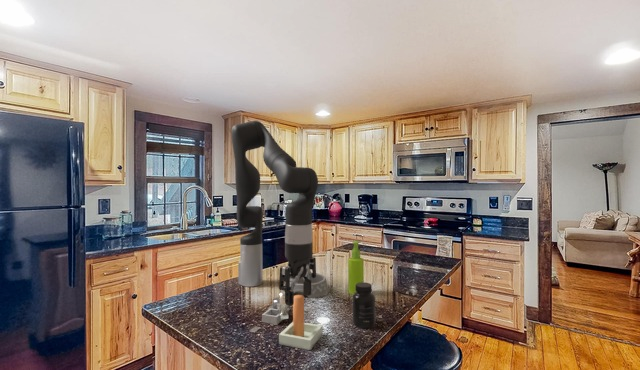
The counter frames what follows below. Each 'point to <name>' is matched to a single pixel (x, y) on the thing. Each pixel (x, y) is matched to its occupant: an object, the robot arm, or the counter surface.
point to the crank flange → (255, 329)
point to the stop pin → (298, 316)
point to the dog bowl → (312, 286)
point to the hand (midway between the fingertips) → (298, 299)
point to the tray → (306, 342)
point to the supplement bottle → (363, 306)
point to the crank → (281, 306)
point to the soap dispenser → (355, 268)
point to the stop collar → (271, 316)
